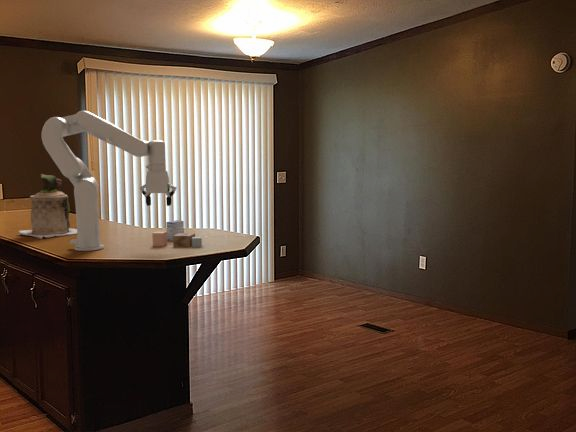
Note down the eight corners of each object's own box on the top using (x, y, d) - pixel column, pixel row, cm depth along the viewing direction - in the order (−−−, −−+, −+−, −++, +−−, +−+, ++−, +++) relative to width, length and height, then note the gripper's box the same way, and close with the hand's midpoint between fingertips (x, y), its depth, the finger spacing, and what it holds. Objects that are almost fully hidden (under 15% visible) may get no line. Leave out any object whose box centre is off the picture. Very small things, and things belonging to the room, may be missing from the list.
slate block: (192, 247, 258) (192, 238, 258) (193, 245, 262) (192, 236, 262) (201, 246, 259) (201, 238, 258) (201, 245, 263) (201, 236, 262)
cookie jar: (42, 239, 287) (37, 175, 283) (16, 235, 302) (12, 174, 298) (85, 233, 307) (82, 173, 303) (59, 229, 321) (56, 172, 318)
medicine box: (177, 237, 287) (176, 220, 286) (184, 237, 285) (183, 220, 284) (166, 239, 281) (165, 221, 280) (173, 240, 278) (172, 222, 277)
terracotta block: (152, 246, 262) (152, 233, 262) (157, 244, 267) (156, 231, 267) (163, 246, 261) (162, 233, 261) (167, 244, 266) (166, 231, 266)
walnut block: (173, 246, 261) (172, 235, 260) (178, 243, 269) (178, 233, 268) (190, 246, 260) (189, 236, 259) (195, 244, 268) (195, 233, 267)
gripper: (135, 168, 258) (137, 206, 260) (172, 168, 255) (173, 206, 257) (143, 167, 265) (144, 204, 267) (178, 167, 262) (179, 204, 264)
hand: (158, 205), depth 262 cm, fingers open, 9 cm apart
